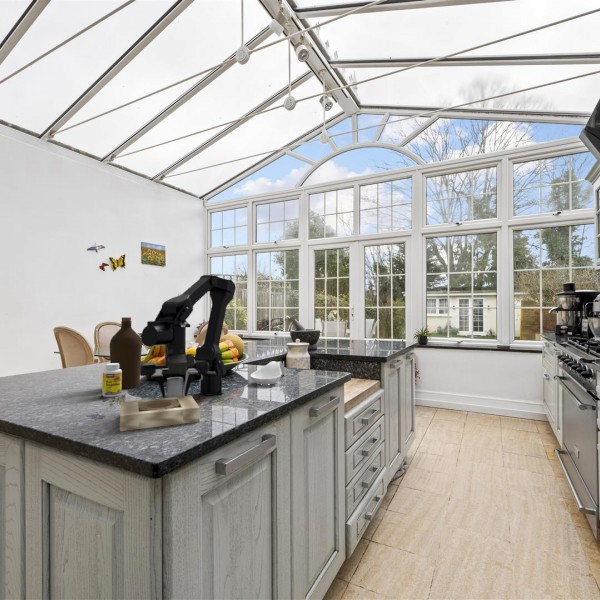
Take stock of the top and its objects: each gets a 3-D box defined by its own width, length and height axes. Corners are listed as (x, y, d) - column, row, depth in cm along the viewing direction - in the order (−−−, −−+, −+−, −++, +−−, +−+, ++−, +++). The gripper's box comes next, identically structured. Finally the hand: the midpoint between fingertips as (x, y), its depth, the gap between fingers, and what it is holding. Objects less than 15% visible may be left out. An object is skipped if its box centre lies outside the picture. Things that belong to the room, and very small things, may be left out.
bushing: (181, 403, 111) (181, 376, 111) (183, 407, 107) (184, 378, 107) (165, 405, 109) (166, 377, 109) (167, 408, 105) (167, 379, 105)
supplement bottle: (103, 398, 117) (103, 365, 117) (101, 394, 122) (101, 363, 122) (122, 396, 120) (123, 364, 120) (120, 392, 125) (120, 362, 125)
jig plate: (190, 407, 106) (191, 395, 106) (199, 421, 93) (199, 407, 93) (120, 415, 98) (121, 402, 99) (120, 431, 86) (120, 416, 86)
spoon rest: (275, 388, 133) (275, 368, 133) (245, 386, 136) (245, 367, 136) (293, 377, 156) (293, 359, 156) (266, 375, 159) (266, 358, 159)
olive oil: (137, 389, 130) (137, 317, 130) (104, 390, 128) (105, 317, 129) (144, 383, 140) (145, 317, 141) (114, 384, 139) (115, 317, 139)
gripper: (141, 347, 97) (140, 407, 97) (213, 344, 105) (212, 400, 105) (140, 343, 107) (139, 398, 107) (205, 341, 115) (205, 392, 115)
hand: (174, 397), depth 108 cm, fingers open, 6 cm apart
